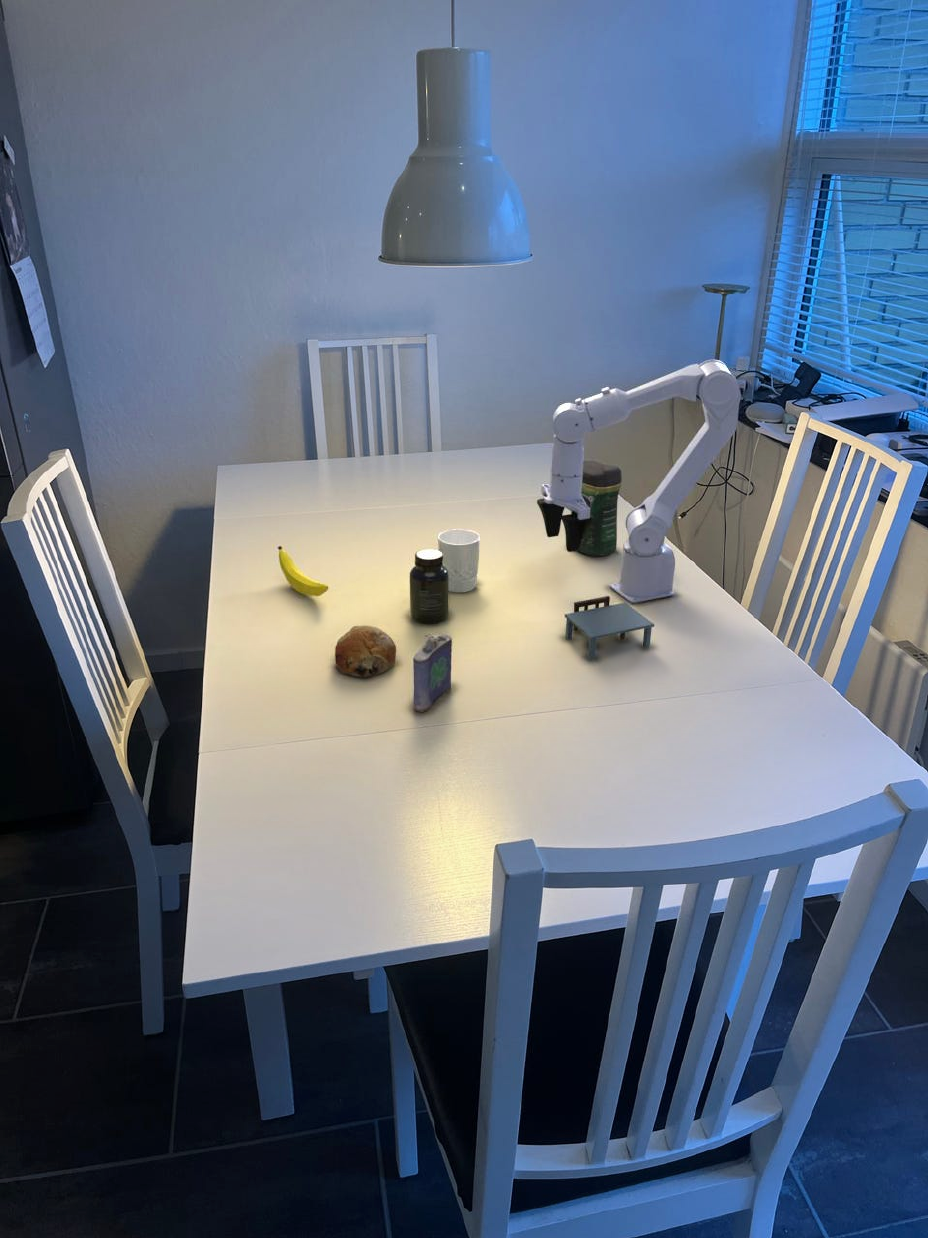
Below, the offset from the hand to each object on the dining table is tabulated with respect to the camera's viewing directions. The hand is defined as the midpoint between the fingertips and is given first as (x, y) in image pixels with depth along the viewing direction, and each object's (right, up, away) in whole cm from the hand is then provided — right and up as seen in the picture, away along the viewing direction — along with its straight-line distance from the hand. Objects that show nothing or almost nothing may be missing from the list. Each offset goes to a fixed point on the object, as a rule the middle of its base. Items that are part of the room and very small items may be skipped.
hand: (562, 543), depth 177 cm
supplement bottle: (-24, -14, -6) cm, 29 cm away
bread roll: (-34, -21, -22) cm, 46 cm away
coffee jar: (+9, 0, +22) cm, 24 cm away
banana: (-48, -9, +2) cm, 49 cm away
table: (+6, -18, -15) cm, 24 cm away
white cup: (-19, -8, +5) cm, 21 cm away
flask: (-23, -26, -31) cm, 47 cm away
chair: (+5, -17, -13) cm, 22 cm away
